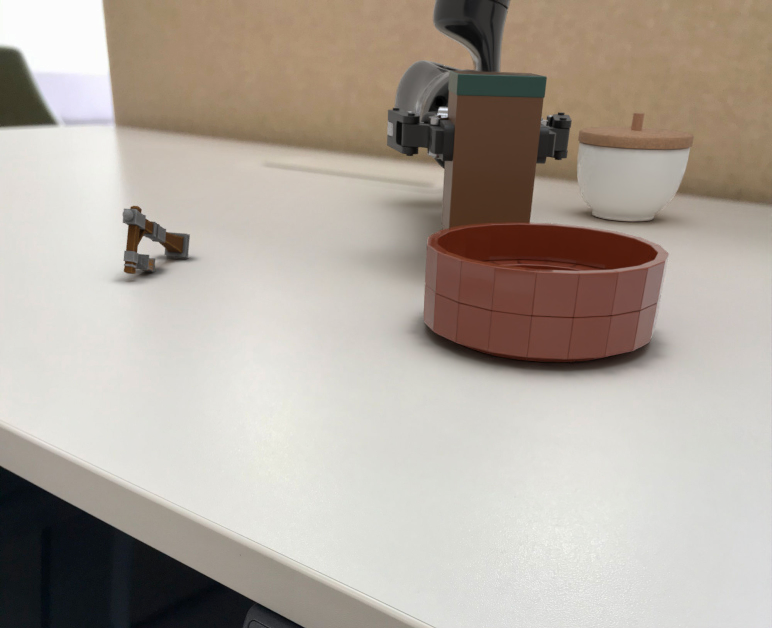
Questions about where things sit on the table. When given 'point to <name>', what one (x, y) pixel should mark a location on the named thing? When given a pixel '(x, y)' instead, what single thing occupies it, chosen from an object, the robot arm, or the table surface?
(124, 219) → the wooden post with brackets
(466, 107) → the tea box
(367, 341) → the table surface
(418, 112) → the robot arm
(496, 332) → the bowl
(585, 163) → the trinket box
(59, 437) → the table surface
